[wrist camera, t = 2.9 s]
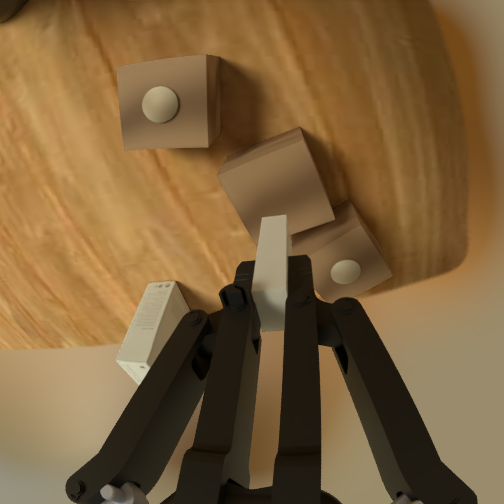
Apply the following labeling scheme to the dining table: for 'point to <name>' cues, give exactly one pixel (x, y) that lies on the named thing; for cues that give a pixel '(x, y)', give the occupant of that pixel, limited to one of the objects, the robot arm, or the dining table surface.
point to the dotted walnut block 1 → (170, 102)
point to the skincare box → (151, 327)
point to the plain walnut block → (277, 184)
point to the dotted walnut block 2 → (342, 255)
